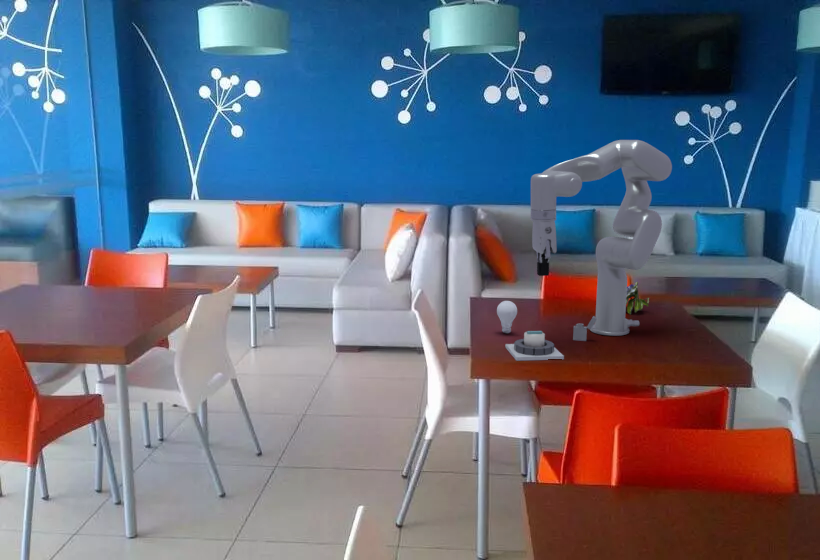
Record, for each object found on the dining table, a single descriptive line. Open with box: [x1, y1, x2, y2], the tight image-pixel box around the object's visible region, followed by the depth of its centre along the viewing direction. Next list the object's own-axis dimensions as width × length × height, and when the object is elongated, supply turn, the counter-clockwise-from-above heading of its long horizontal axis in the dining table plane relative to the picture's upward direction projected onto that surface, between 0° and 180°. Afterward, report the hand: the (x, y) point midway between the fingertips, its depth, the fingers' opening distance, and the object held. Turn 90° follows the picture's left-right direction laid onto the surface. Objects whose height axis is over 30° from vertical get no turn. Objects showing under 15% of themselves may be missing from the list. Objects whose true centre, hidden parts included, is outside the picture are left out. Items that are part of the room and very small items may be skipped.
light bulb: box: [496, 300, 518, 335], centre depth 240 cm, size 7×7×11 cm
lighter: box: [572, 315, 597, 342], centre depth 233 cm, size 7×2×8 cm, turn 75°
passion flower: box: [626, 281, 650, 315], centre depth 274 cm, size 13×12×14 cm
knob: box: [523, 330, 546, 347], centre depth 218 cm, size 6×6×6 cm
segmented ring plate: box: [505, 338, 565, 362], centre depth 219 cm, size 14×14×3 cm
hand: (542, 275), depth 224 cm, fingers closed
